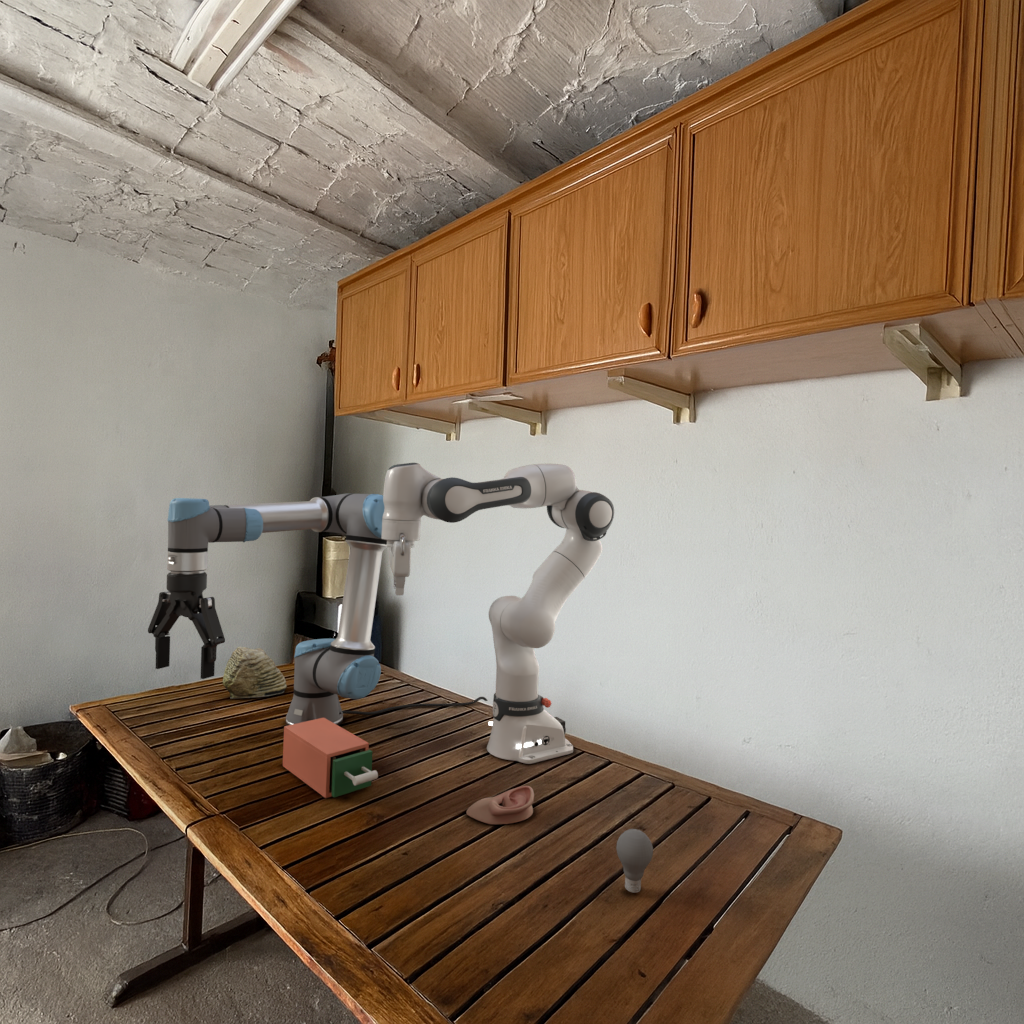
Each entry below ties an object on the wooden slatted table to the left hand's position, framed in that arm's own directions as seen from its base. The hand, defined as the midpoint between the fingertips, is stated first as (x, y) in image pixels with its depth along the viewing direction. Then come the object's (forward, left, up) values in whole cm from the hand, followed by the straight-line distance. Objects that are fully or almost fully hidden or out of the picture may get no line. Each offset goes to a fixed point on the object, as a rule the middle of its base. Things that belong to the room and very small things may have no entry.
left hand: (184, 672), depth 133 cm
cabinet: (-25, +15, -25) cm, 38 cm away
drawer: (-24, +21, -24) cm, 40 cm away
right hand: (-37, +24, +17) cm, 47 cm away
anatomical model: (-40, +55, -25) cm, 72 cm away
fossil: (-44, -48, -25) cm, 70 cm away
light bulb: (-34, +88, -25) cm, 98 cm away
